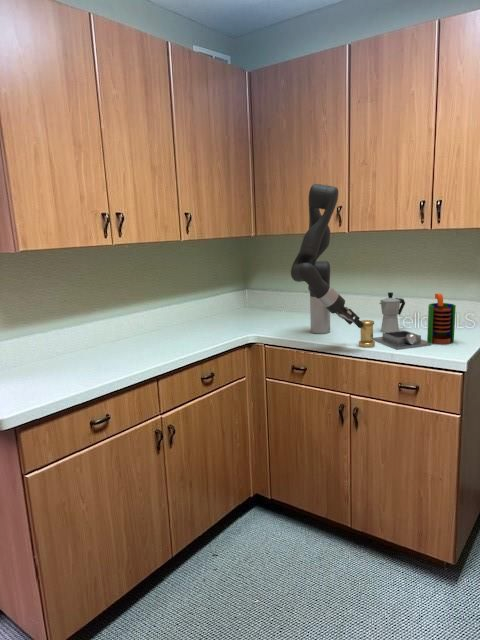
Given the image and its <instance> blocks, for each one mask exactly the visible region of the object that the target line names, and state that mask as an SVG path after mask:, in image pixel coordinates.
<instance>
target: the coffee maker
mask: <svg viewBox="0 0 480 640" xmlns="http://www.w3.org/2000/svg"><path fill="white" fill-rule="evenodd" d="M387 296H388V297H386V298H383V299H380V302H379V304H380V308H381V314H382V321H381V326H380V327H381V328H380V332H381V333H388V332H397V331H400V327H399V321H398V316H400V315H401V314H402V312H403V309H404V307H405V305H406V302H405V299H404V298H398V297H393V296H394V292H391V291H390V292H389V291H388V292H387Z"/></svg>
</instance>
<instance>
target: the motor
mask: <svg viewBox="0 0 480 640" xmlns="http://www.w3.org/2000/svg"><path fill="white" fill-rule="evenodd" d="M434 299H436V300H437V302H433V303H432V302H431V303H429V304H428V314H427V336H426V337H427V338H426V339H427V340H426V341H428V342H431V343H432V345H433V344H434V345H440V346H441V345H443V346H445V345H450V344H451V343H452V344H454V343H455V325H456V324H455V323H456V309H457V308H456V305H455V304H454V303H449V302H447V303H446V302H444V296H443V293H440V292H439V293H434Z"/></svg>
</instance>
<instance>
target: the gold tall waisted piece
mask: <svg viewBox="0 0 480 640" xmlns="http://www.w3.org/2000/svg"><path fill="white" fill-rule="evenodd" d="M360 321H361V322H362V323H363V324H364V325H363V327H362V328H360V340H359V341H358V347H360V348H368V349H369V348H374V347H375V346H376V341H374V340H373V338H374V325H375V321H374V320H373V319H371V320H370V319H362V320H360Z"/></svg>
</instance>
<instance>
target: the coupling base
mask: <svg viewBox="0 0 480 640" xmlns="http://www.w3.org/2000/svg"><path fill="white" fill-rule="evenodd" d="M373 341H375V343H379V344H382V345H384V346H386V347H389V348H392V349H394V350H398V351H399V350H405V349H412V348H421V347H428V346H432V345H433V343H431V342H428V341H427V340H425V339H422V335H420V334H416V333H414V332H410V331H408V330H399V331H397V332H388V333H384V332H382V336H379V337H376V336H375V337H373Z"/></svg>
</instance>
